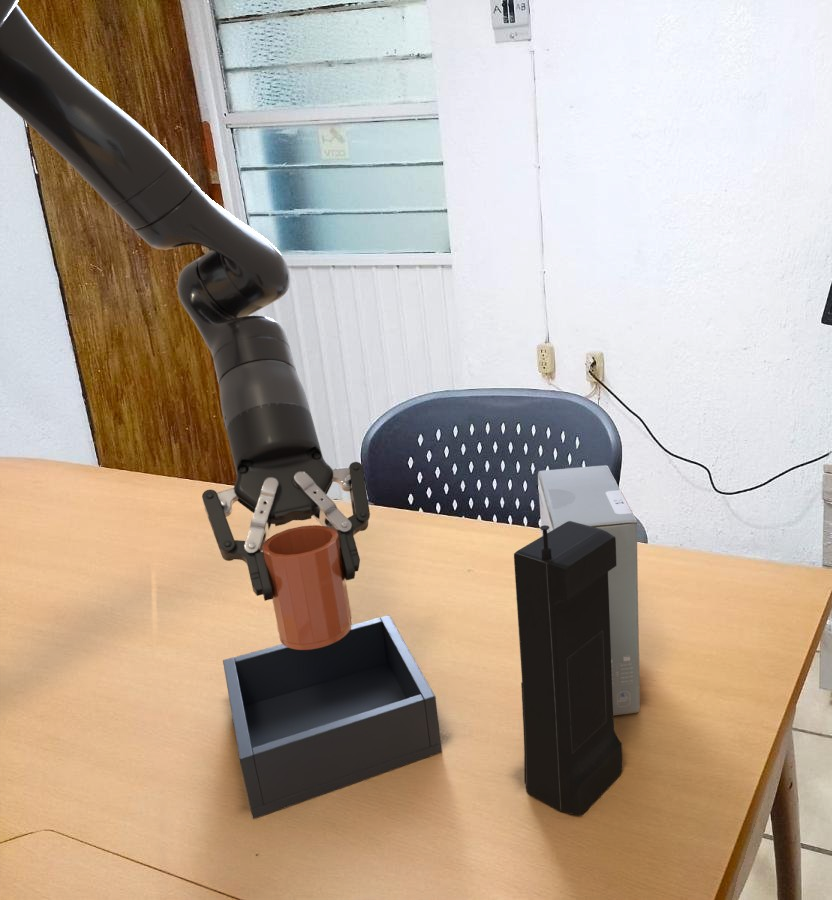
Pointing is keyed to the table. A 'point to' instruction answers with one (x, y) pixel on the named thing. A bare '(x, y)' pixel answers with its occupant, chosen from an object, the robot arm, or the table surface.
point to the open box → (328, 715)
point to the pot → (308, 586)
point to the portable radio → (567, 666)
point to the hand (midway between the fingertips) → (310, 586)
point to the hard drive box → (604, 507)
